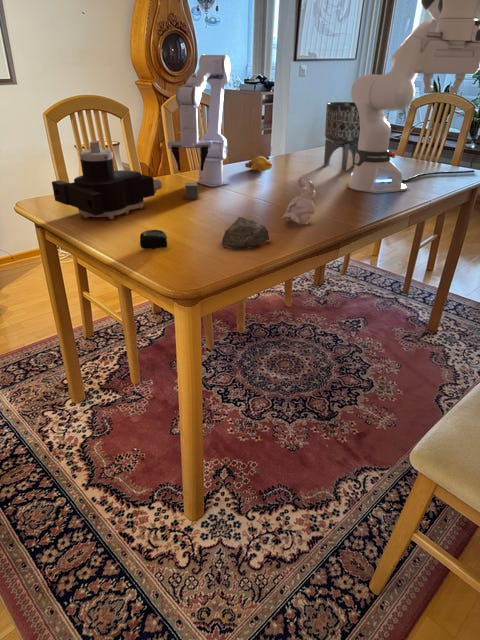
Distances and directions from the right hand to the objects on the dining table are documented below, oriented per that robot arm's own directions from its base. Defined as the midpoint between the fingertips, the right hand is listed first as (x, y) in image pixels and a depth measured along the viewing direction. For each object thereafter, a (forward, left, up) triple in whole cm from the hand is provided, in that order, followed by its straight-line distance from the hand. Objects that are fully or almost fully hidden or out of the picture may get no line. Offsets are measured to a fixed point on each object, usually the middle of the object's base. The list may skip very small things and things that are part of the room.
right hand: (440, 93), depth 124 cm
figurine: (+36, -5, -36) cm, 51 cm away
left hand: (+64, -39, -27) cm, 79 cm away
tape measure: (+80, +8, -36) cm, 88 cm away
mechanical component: (+89, -28, -36) cm, 100 cm away
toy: (+27, -79, -36) cm, 91 cm away
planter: (-12, -79, -36) cm, 88 cm away
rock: (+56, +10, -36) cm, 67 cm away
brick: (+64, -39, -36) cm, 83 cm away
